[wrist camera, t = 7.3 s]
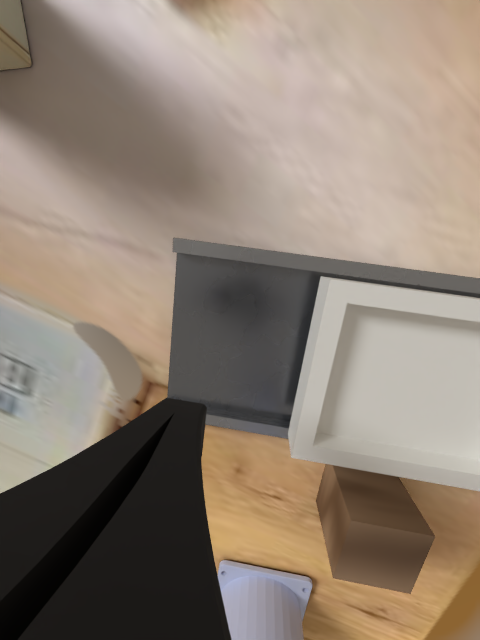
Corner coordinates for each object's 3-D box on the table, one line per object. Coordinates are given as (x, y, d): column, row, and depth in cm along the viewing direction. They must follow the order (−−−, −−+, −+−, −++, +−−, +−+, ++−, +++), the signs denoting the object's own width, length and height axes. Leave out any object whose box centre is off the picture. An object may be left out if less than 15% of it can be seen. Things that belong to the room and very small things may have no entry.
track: (488, 460, 17) (526, 494, 15) (169, 405, 19) (155, 428, 16) (565, 290, 15) (628, 297, 12) (181, 239, 16) (165, 235, 13)
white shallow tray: (464, 449, 17) (516, 497, 13) (285, 419, 17) (291, 457, 14) (525, 303, 14) (608, 317, 11) (315, 274, 15) (330, 279, 12)
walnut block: (373, 510, 19) (410, 593, 15) (315, 499, 20) (333, 578, 15) (389, 463, 18) (435, 536, 14) (328, 452, 19) (351, 520, 14)
